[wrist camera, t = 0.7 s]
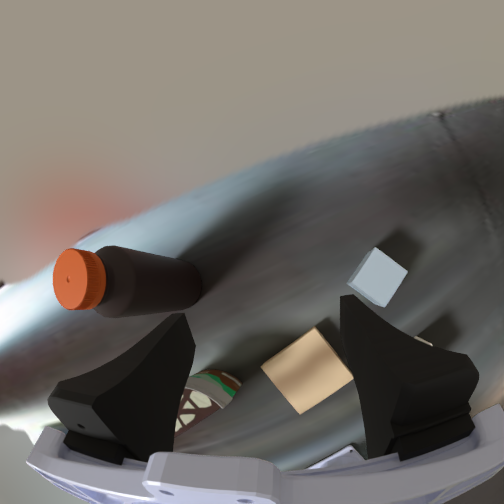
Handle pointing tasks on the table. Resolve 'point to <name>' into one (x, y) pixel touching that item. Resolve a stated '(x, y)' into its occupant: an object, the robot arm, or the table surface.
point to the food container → (204, 397)
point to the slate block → (377, 277)
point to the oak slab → (307, 370)
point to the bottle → (124, 282)
